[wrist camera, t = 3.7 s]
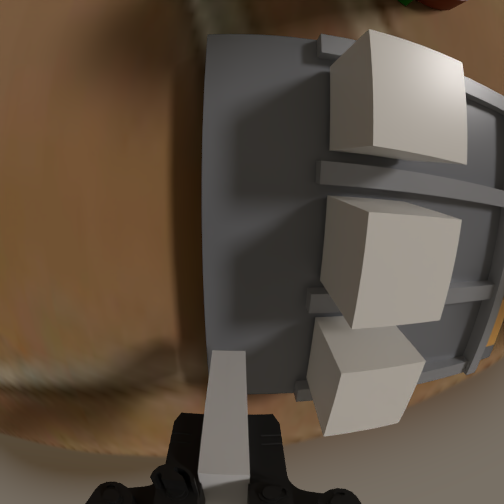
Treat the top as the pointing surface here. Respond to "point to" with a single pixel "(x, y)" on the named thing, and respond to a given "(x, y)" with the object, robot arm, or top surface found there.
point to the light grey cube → (387, 260)
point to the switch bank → (314, 211)
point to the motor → (437, 3)
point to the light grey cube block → (398, 101)
